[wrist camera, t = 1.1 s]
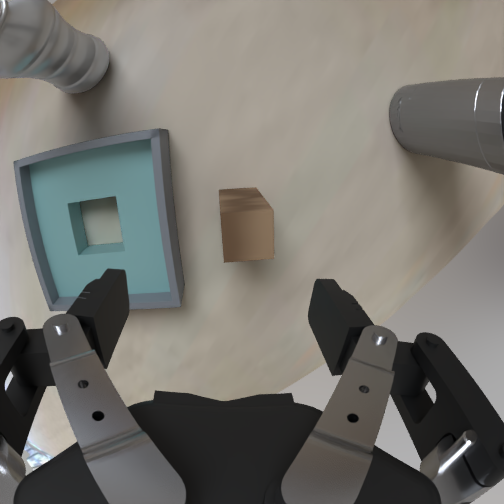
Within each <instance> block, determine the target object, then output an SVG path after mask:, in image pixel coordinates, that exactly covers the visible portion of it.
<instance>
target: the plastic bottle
mask: <svg viewBox="0 0 504 504" xmlns="http://www.w3.org/2000/svg"><path fill="white" fill-rule="evenodd" d="M108 65H109V52H108V49H107V47H106V45H105V44H104V42H103V41H102V40H101V39H100V38H98V37H95V36H93V35H90V34H85V33H83V32H81V31H79V30H77V29H75V28H73V27H72V26H71V25H70V24H69V23H68V22H67V21H65V20H64V19H63V18H62V16H61V15H60V14H59V13H58V11H57V10H56V9H55V8H54V6H53V5H52V4H51V3H50V2H49V1H48V0H12V1H10V2H7V0H0V78H6V79H7V78H35V79H41V80H44V81H46V82H49V83H51V84H53V85H54V86H55V87H56V88H58V89H60V90H62V91H64V92H66V93H81V92H85V91H87V90H89V89H91V88H92V87H94V86H95V85H96V84H97V83H98V82H99V81H100V80H101V79H102V78H103V76H104V74H105V73H106V71H107V68H108Z"/></svg>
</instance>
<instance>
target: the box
mask: <svg viewBox="0 0 504 504" xmlns="http://www.w3.org/2000/svg"><path fill="white" fill-rule="evenodd" d="M14 170H15V178H16V185H17V192H18V198H19V203H20V209H21V214H22V219H23V223H24V228H25V232H26V236H27V240H28V244H29V248H30V252H31V255H32V259H33V262H34V266H35V269H36V272H37V275H38V278H39V282H40V285H41V287H42V290H43V293H44V296H45V299H46V301H47V304H48V307H49V309H50V311H68V310H69V308H70V307H71V306H72V304H73V303H74V301H75V300H76V299H77V298H78V296H79V295H80V293H81V292H82V290H83V289H84V288H85V286H86V285H87V284H88V283H90V282H92V281H93V280H95V279H100V278H101V276H102V275H103V273H104V272H105V271H106V269H108V268H111V269H124V270H125V272H126V277H127V286H128V295H129V304H130V307H129V309H152V308H171V307H181V302H182V297H183V291H184V285H185V284H184V277H183V271H182V264H181V257H180V249H179V242H178V234H177V226H176V217H175V208H174V199H173V189H172V178H171V167H170V154H169V139H168V130H166V129H151V130H144V131H138V132H132V133H126V134H120V135H115V136H109V137H104V138H99V139H95V140H90V141H86V142H81V143H77V144H73V145H69V146H65V147H61V148H57V149H53V150H50V151H46V152H43V153H39V154H36V155H33V156H29V157H26V158H23V159H20V160H17V161H14ZM112 196H116V200H117V207H118V214H119V220H120V226H121V232H122V237H123V242H121V243H111V244H101V245H91V246H88V244H87V239H86V234H85V230H84V225H83V219H82V214H81V208H80V201H86V200H92V199H99V198H105V197H112Z"/></svg>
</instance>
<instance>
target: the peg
mask: <svg viewBox="0 0 504 504" xmlns="http://www.w3.org/2000/svg"><path fill="white" fill-rule="evenodd" d="M219 199H220V215H221V229H222V243H223V255H224V263H225V262H237V261H250V260H262V259H274V210H273V209H272V207H271V206H270V205H269V204H268V202H267V201H266V200H265V198H264V197H263V196H262V195H261V193H260V192H259V191H258V189H257V188H239V189H224V190H219Z"/></svg>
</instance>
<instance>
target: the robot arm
mask: <svg viewBox="0 0 504 504" xmlns="http://www.w3.org/2000/svg"><path fill="white" fill-rule="evenodd" d="M389 115H390V123H391V127H392V130H393V132H394V135H395V137H396V138H397V140H398V141H399V143H400V144H401V145H402V146H403V147H404V148H405V149H407V150H408V151H410V152H413V153H416V154H421V155H426V156H431V157H436V158H440V159H445V160H449V161H454V162H458V163H462V164H466V165H470V166H474V167H478V168H482V169H485V170H489V171H493V172H496V173H499V174H503V175H504V77H498V78H474V79H459V80H447V81H437V82H429V83H420V84H413V85H408V86H404V87H402V88H401V89H399V90H398V91H397V92H396V93H395V95H394V97H393V99H392V101H391V105H390V114H389ZM129 307H130V304H129V295H128V286H127V277H126V272H125V270H124V269H111V268H108V269H106V271H105V272H104V273H103V275H102V276H101V278H100V279H95V280H93V281H92V282H90V283H88V284H87V285H86V286H85V288H84V289H83V290H82V292H81V293H80V295H79V296H78V298H77V299H76V300H75V301H74V303H73V304H72V306H71V307H70V308H69V310H68V311H67V313H66V314H59V315H55V316H53V317H51V318H49V319H48V320H47V321H46V322H45V323H44V325H43V328H42V329H27V330H26V327H25V324H24V322H23V320H22V319H20V318H18V317H9V318H5V319H3V320H1V321H0V504H470V503H471V502H473V501H474V500H475V499H477V498H479V497H480V496H481V495H483V494H484V493H485V492H487V491H488V490H489V489H491V488H492V487H493V486H495V485H496V484H497V483H498V482H500V481H501V480H502V479H503V478H504V423H503V421H502V420H501V418H500V417H499V415H498V414H497V412H496V411H495V409H494V408H493V406H492V405H491V403H490V402H489V400H488V399H487V398H486V396H485V395H484V393H483V392H482V390H481V389H480V388H479V386H478V385H477V384H476V382H475V381H474V379H473V378H472V377H471V375H470V374H469V373H468V371H467V370H466V369H465V367H464V366H463V365H462V363H461V362H460V361H459V360H458V358H457V357H456V356H455V354H454V353H453V352H452V351H451V349H450V348H449V347H448V346H447V344H446V343H445V342H444V341H443V340H442V339H441V338H440V337H438V336H436V335H434V334H432V333H426V332H425V333H420V334H418V335H417V337H416V339H415V341H414V343H408V342H400V341H398V339H397V337H396V335H395V334H394V333H393V332H392V331H391V330H389V329H387V328H385V327H382V326H377V325H374V324H373V322H372V321H371V320H370V318H369V317H368V315H367V314H366V313H365V311H364V310H362V307H361V306H360V305H359V304H358V302H357V301H356V299H355V298H354V297H353V296H352V295H351V294H349V293H348V292H346V291H345V290H342V289H341V288H340V287H339V285H338V284H337V282H336V281H335V280H334V279H317V280H316V281H315V283H314V288H313V292H312V297H311V301H310V306H309V311H308V320H309V324H310V326H311V329H312V331H313V333H314V335H315V338H316V340H317V342H318V345H319V347H320V349H321V351H322V354H323V356H324V358H325V360H326V363H327V365H328V367H329V370H330V372H331V374H332V376H335V375H342V376H341V378H340V380H339V382H338V385H337V386H336V389H335V391H334V392H333V394H332V396H331V398H330V400H329V402H328V404H327V406H326V408H325V410H324V411H323V412H322V411H320V410H318V409H316V408H314V407H311V406H308V405H304V404H299V403H294V401H293V396H292V393H285V394H259V395H254V396H250V397H245V398H240V399H235V400H230V401H219V400H214V399H210V398H206V397H201V396H197V395H193V394H189V393H177V392H165V391H155V393H154V399H153V400H151V401H145V402H140V403H137V404H134V405H131V406H129V407H126V405H125V404H124V402H123V400H122V399H121V397H120V395H119V394H118V392H117V390H116V388H115V387H114V385H113V383H112V381H111V380H110V378H109V376H108V374H107V372H106V371H105V369H107V367H108V364H109V362H110V359H111V357H112V354H113V352H114V349H115V347H116V344H117V342H118V339H119V337H120V334H121V332H122V329H123V327H124V325H125V322H126V320H127V318H128V315H129ZM10 371H11V372H12V374H13V378H12V380H11V382H10V384H9V386H8V388H7V390H6V392H5V380H6V378H7V376H8V374H9V372H10ZM429 381H430V382H431V384H432V386H433V387H434V389H435V391H436V401H435V403H433V401H432V400H431V398H430V396H429V395H428V393H427V391H426V390H425V387H426V385H427V384H428V382H429ZM47 386H56V387H57V390H58V393H59V396H60V399H61V402H62V404H63V407H64V410H65V412H66V415H67V418H68V420H69V423H70V425H71V427H72V430H73V432H74V434H75V437H76V439H77V442H76V443H74V444H73V445H72V446H70V447H69V448H67V449H66V450H64V451H63V452H61V453H60V454H58V455H57V456H55V457H54V458H52V459H51V460H49V461H48V462H46V463H45V464H43V465H42V466H40V467H39V468H37V469H36V470H34V471H33V472H31V473H30V474H28V475H27V476H26V475H25V473H26V468H25V464H24V461H23V459H22V458H21V457H22V453H23V450H24V447H25V444H26V440H27V437H28V434H29V431H30V429H31V426H32V423H33V420H34V417H35V415H36V412H37V409H38V407H39V404H40V402H41V399H42V397H43V394H44V392H45V389H46V387H47ZM389 394H391V397H392V399H393V401H394V402H395V405H396V407H397V409H398V411H399V413H400V415H401V417H402V419H403V422H404V423H405V426H406V428H407V430H408V432H409V434H410V437H411V439H412V440H413V443H414V445H415V448H416V450H417V452H418V454H419V457H420V459H421V461H422V462H421V465H420V471H418V470H416V469H414V468H412V467H410V466H409V465H407V464H405V463H403V462H402V461H400V460H398V459H397V458H395V457H393V456H391V455H390V454H388V453H386V452H385V451H383V450H381V449H380V448H378V447H377V446H375V445H374V444H375V441H376V438H377V435H378V432H379V429H380V426H381V423H382V419H383V416H384V413H385V409H386V406H387V402H388V398H389Z"/></svg>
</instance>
